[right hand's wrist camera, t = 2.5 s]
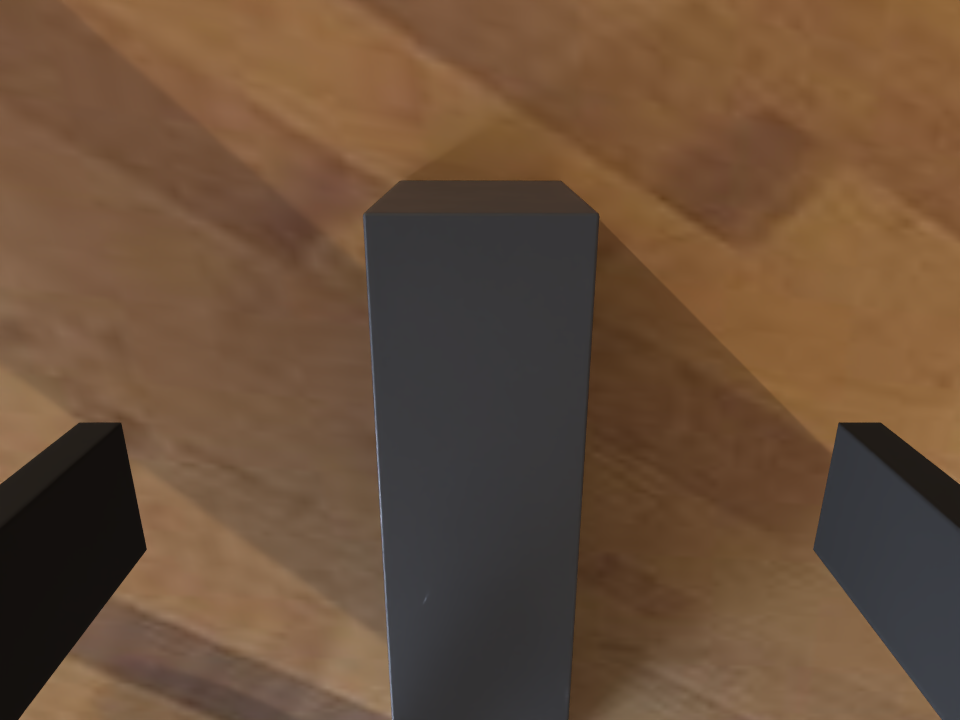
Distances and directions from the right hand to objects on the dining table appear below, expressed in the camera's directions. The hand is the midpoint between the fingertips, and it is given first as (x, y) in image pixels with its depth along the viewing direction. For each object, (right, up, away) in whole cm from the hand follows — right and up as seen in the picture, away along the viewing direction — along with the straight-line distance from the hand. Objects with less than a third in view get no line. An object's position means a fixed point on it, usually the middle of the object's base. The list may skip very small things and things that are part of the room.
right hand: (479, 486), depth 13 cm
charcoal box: (0, -6, +20) cm, 21 cm away
